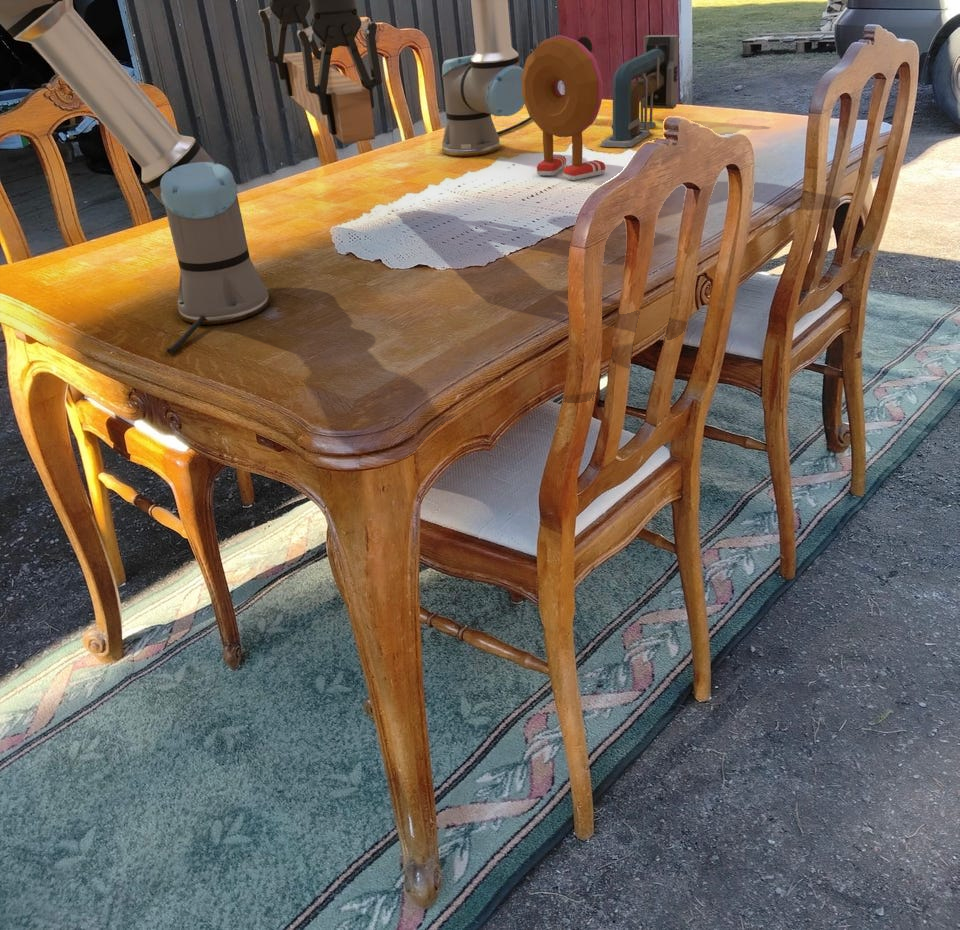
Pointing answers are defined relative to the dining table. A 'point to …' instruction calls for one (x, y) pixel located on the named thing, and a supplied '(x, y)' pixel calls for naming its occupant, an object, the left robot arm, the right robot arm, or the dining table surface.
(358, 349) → the dining table surface
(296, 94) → the post
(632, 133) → the dark grey bent pipe
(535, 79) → the toy
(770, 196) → the dining table surface
